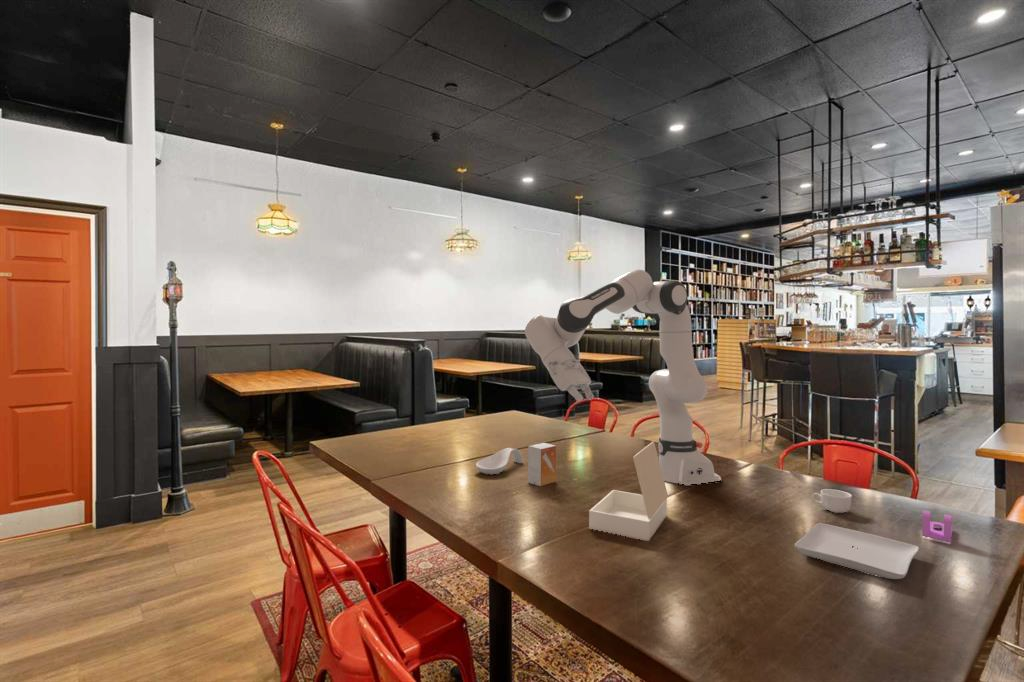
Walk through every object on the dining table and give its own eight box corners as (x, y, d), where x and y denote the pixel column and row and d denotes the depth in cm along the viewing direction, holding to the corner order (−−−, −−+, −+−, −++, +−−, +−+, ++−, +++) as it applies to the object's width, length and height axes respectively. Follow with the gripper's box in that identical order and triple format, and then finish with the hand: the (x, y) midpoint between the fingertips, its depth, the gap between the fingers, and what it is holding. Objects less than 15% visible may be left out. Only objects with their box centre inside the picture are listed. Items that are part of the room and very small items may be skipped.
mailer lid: (632, 456, 128) (634, 456, 128) (652, 441, 146) (654, 441, 146) (648, 519, 127) (650, 519, 127) (666, 496, 144) (668, 496, 144)
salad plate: (817, 533, 133) (817, 520, 133) (919, 559, 118) (920, 544, 118) (792, 558, 118) (792, 544, 118) (905, 592, 103) (905, 575, 103)
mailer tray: (589, 528, 135) (589, 510, 135) (612, 506, 152) (613, 489, 152) (648, 541, 127) (648, 521, 127) (666, 515, 144) (666, 498, 144)
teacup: (851, 509, 149) (851, 491, 149) (851, 518, 143) (852, 499, 143) (812, 503, 155) (812, 486, 155) (811, 511, 148) (811, 493, 148)
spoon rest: (494, 479, 180) (494, 459, 180) (469, 474, 187) (469, 455, 186) (530, 465, 199) (530, 447, 199) (506, 460, 206) (506, 443, 206)
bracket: (950, 545, 125) (951, 518, 125) (922, 539, 129) (922, 512, 129) (952, 530, 135) (952, 504, 134) (925, 524, 138) (926, 499, 138)
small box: (540, 487, 171) (540, 449, 170) (527, 482, 175) (527, 445, 175) (556, 482, 176) (556, 445, 176) (543, 478, 181) (543, 442, 181)
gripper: (554, 355, 142) (582, 394, 138) (579, 356, 160) (604, 391, 156) (538, 368, 144) (565, 408, 140) (564, 368, 162) (589, 403, 158)
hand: (586, 399), depth 148 cm, fingers open, 8 cm apart
